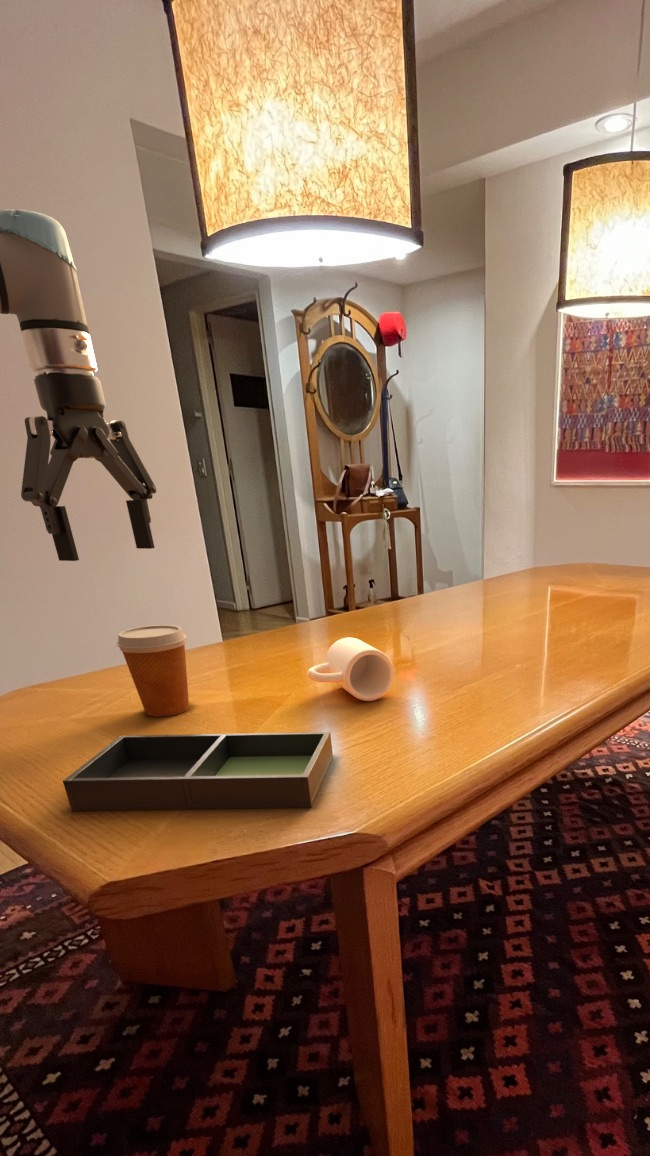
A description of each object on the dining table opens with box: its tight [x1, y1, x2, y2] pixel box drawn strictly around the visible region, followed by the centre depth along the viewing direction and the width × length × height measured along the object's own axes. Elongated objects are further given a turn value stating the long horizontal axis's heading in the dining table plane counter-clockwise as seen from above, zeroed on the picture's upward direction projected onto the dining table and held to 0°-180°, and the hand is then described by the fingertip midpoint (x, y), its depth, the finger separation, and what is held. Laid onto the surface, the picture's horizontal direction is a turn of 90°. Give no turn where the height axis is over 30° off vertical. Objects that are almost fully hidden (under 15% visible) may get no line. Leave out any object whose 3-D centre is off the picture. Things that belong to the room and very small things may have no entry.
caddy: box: [62, 731, 334, 812], centre depth 77 cm, size 26×13×4 cm, turn 89°
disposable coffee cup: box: [116, 624, 190, 718], centre depth 100 cm, size 10×10×12 cm
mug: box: [307, 636, 395, 702], centre depth 106 cm, size 12×10×8 cm
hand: (109, 554), depth 94 cm, fingers open, 13 cm apart
